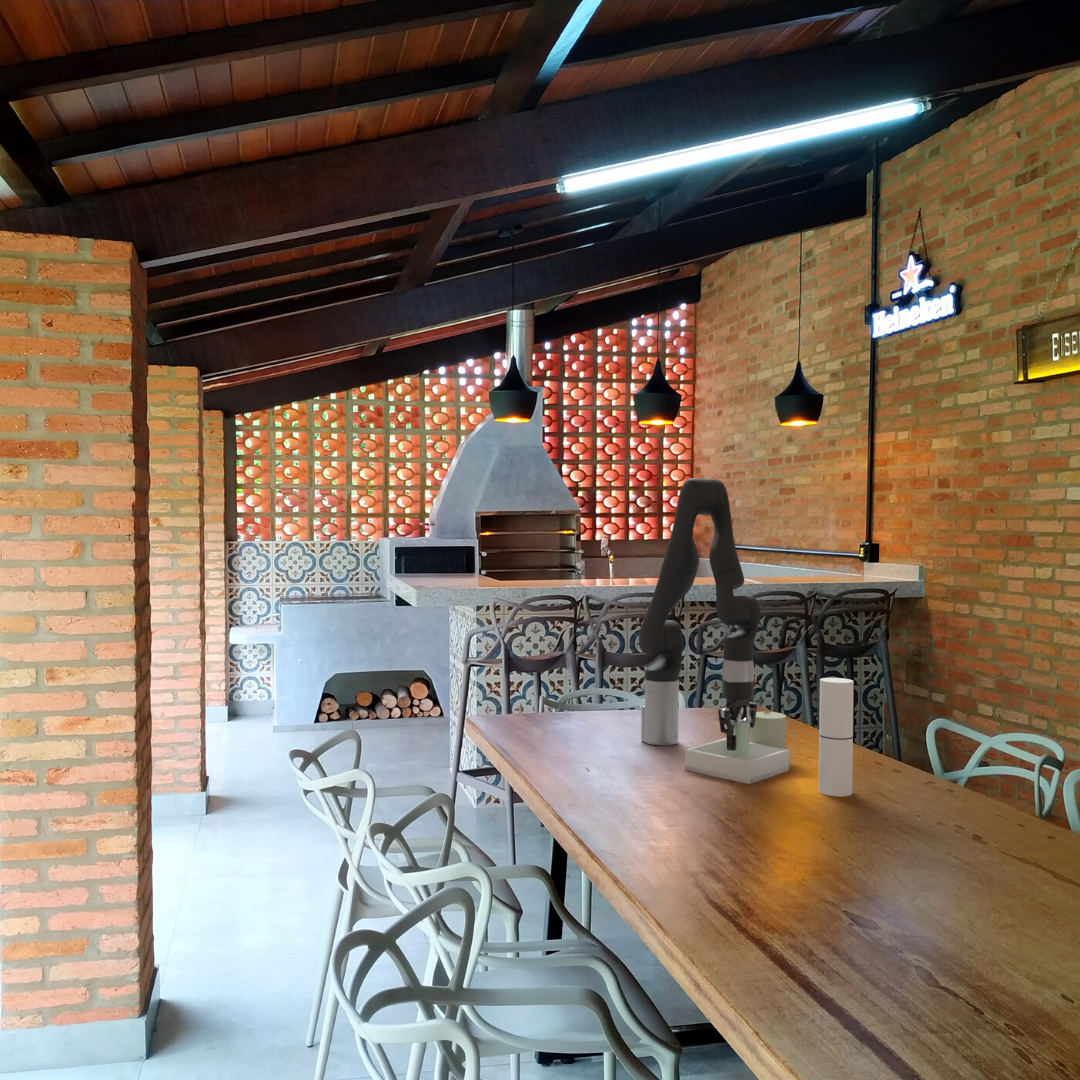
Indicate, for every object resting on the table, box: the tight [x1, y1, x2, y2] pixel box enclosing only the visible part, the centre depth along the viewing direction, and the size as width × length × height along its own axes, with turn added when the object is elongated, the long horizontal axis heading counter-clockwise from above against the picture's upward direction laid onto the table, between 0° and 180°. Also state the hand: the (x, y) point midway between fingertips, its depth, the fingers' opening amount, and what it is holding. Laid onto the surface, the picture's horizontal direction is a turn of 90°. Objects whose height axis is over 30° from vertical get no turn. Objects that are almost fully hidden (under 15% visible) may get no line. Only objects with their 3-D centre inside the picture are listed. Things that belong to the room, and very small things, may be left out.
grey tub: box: [684, 737, 791, 785], centre depth 234 cm, size 18×18×5 cm
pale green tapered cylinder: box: [727, 720, 750, 756], centre depth 234 cm, size 5×5×8 cm
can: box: [749, 711, 787, 749], centre depth 244 cm, size 9×9×12 cm
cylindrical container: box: [818, 677, 855, 798], centre depth 215 cm, size 7×7×25 cm
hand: (737, 747), depth 234 cm, fingers closed on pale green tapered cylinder, 5 cm apart
